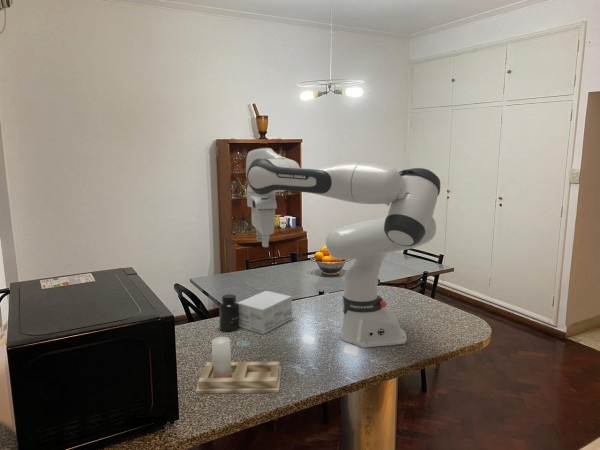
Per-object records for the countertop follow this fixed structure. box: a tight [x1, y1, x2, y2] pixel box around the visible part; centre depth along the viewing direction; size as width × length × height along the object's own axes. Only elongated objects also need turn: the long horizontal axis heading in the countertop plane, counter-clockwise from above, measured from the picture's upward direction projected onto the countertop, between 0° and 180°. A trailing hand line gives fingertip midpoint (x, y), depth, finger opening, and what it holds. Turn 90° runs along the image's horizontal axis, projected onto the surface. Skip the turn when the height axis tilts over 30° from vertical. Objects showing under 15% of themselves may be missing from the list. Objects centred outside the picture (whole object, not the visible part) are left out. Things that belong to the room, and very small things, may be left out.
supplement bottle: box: [219, 293, 239, 332], centre depth 159 cm, size 7×7×12 cm
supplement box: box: [236, 290, 293, 335], centre depth 164 cm, size 17×13×9 cm
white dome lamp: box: [211, 336, 232, 378], centre depth 122 cm, size 5×5×11 cm
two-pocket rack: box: [195, 361, 282, 394], centre depth 123 cm, size 22×13×3 cm, turn 89°
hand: (262, 243), depth 140 cm, fingers open, 8 cm apart
